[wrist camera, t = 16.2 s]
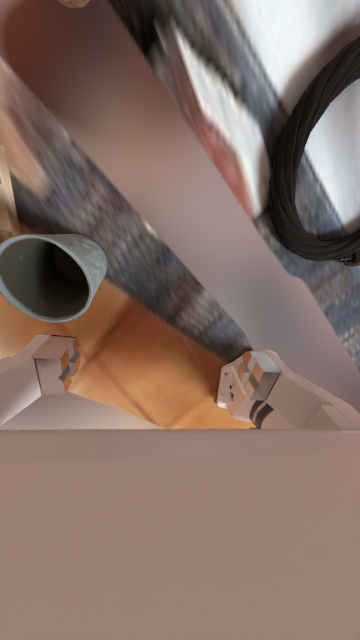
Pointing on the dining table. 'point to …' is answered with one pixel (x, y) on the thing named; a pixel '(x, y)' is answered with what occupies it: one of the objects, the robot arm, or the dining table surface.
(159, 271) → the dining table surface
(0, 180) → the notch board
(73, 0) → the chopping board
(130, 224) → the dining table surface
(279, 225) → the cable lock
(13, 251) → the grey hollow cylinder
